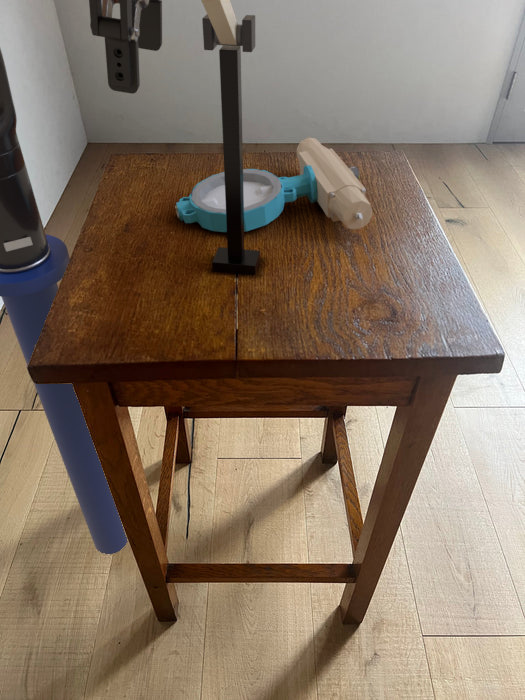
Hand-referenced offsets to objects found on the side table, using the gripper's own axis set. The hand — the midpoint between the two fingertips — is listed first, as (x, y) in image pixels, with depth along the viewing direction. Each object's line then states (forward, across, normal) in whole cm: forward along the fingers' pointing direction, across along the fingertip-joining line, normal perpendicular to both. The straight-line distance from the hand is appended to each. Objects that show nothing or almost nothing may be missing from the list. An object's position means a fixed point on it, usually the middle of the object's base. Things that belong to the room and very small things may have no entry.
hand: (137, 67), depth 45 cm
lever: (-1, +12, -5) cm, 13 cm away
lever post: (+31, +15, -9) cm, 36 cm away
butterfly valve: (+33, +32, -13) cm, 48 cm away
